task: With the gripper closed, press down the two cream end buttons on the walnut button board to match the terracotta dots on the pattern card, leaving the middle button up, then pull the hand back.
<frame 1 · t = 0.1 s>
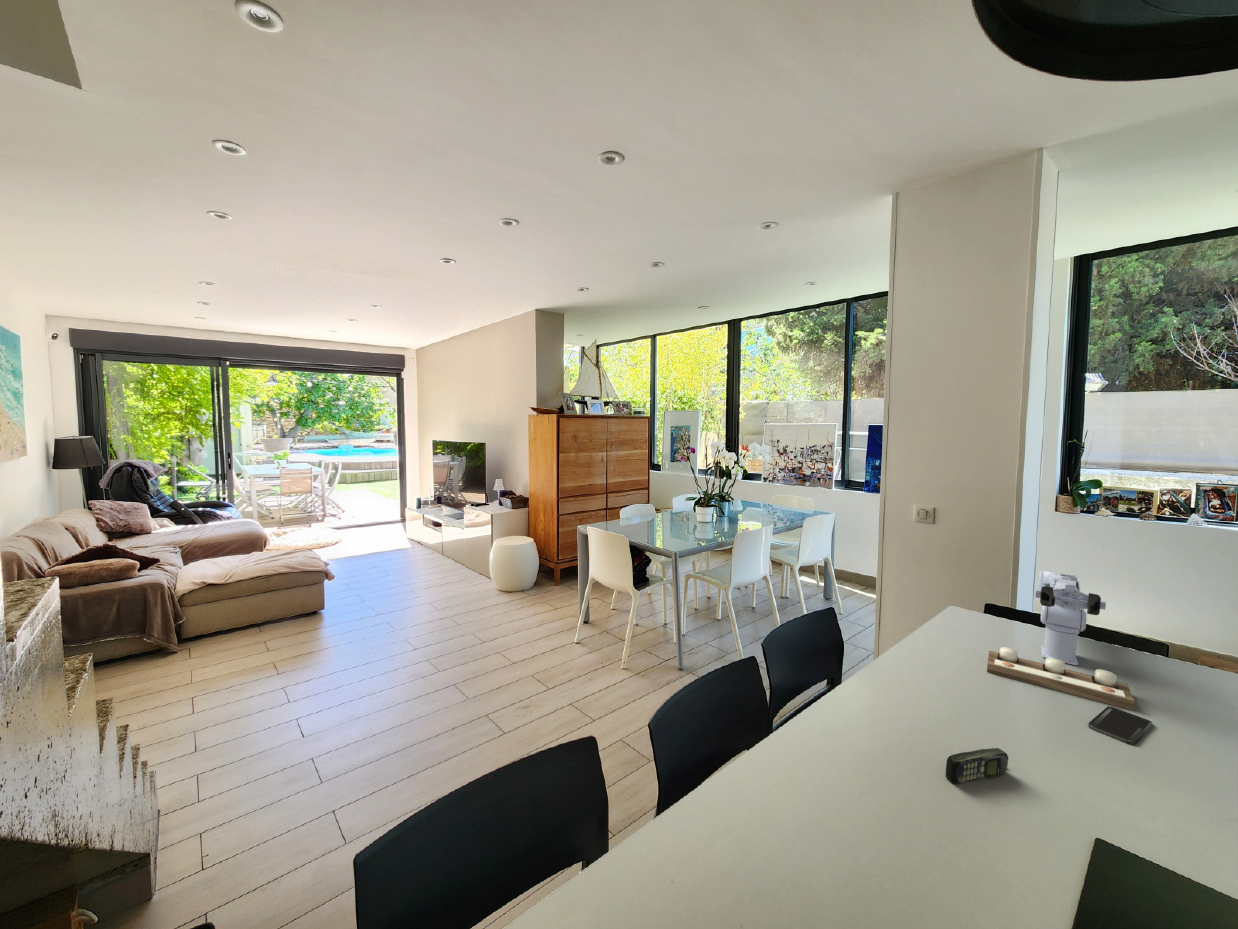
hand: (1072, 605, 133), 22 cm above the table, tool horizontal, fingers open, 7 cm apart
phone: (1120, 728, 117), on the table
mobile phone: (978, 776, 100), on the table
button board: (1053, 682, 136), on the table
middle button: (1054, 665, 137), point 4 cm above the table, slide at 0.0 cm
pattern card: (1055, 677, 134), resting on button board
end button 1: (1105, 677, 131), point 4 cm above the table, slide at 0.0 cm
end button 2: (1008, 654, 143), point 4 cm above the table, slide at 0.0 cm
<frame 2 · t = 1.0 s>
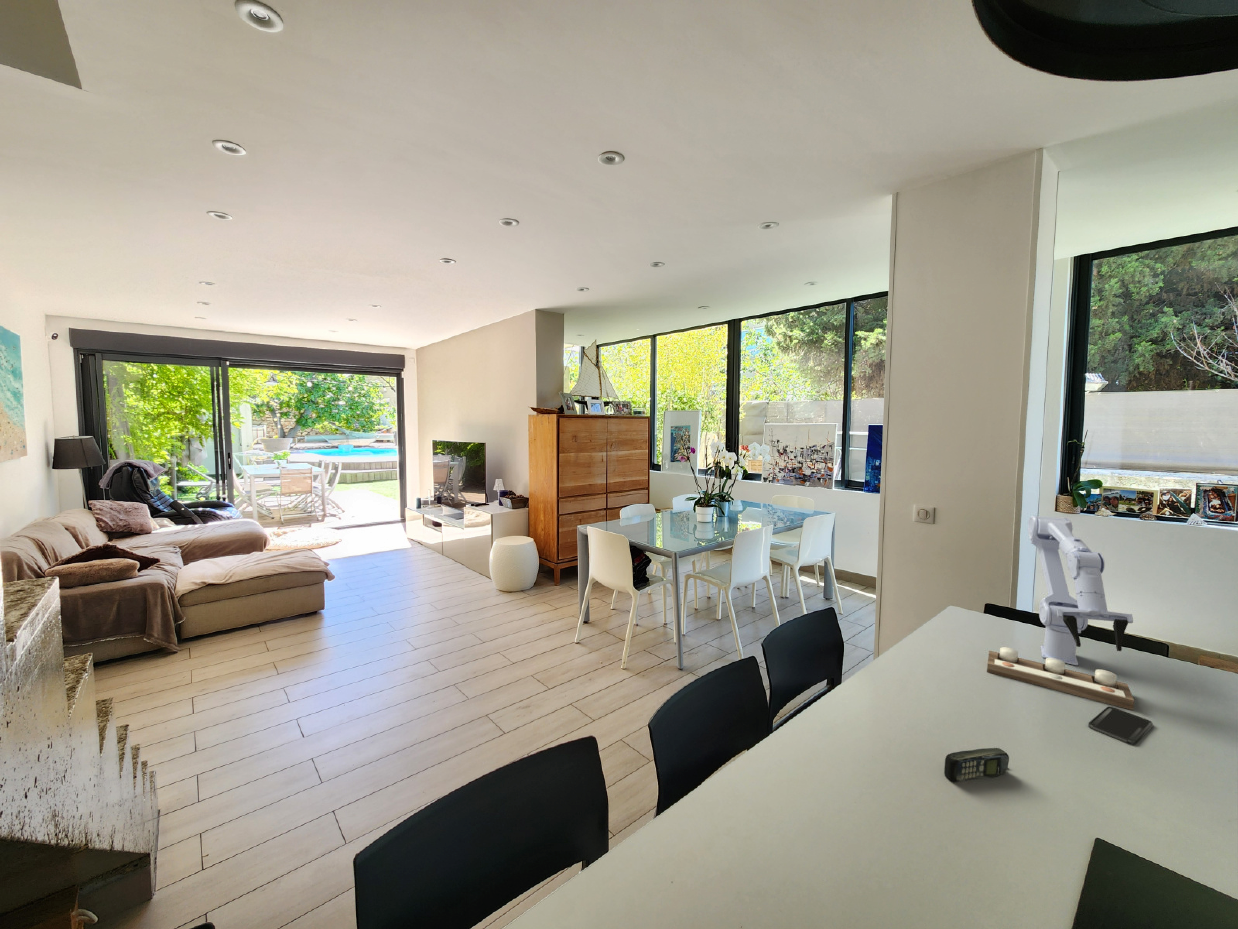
hand: (1098, 648, 130), 12 cm above the table, tool tilted 30°, fingers open, 7 cm apart
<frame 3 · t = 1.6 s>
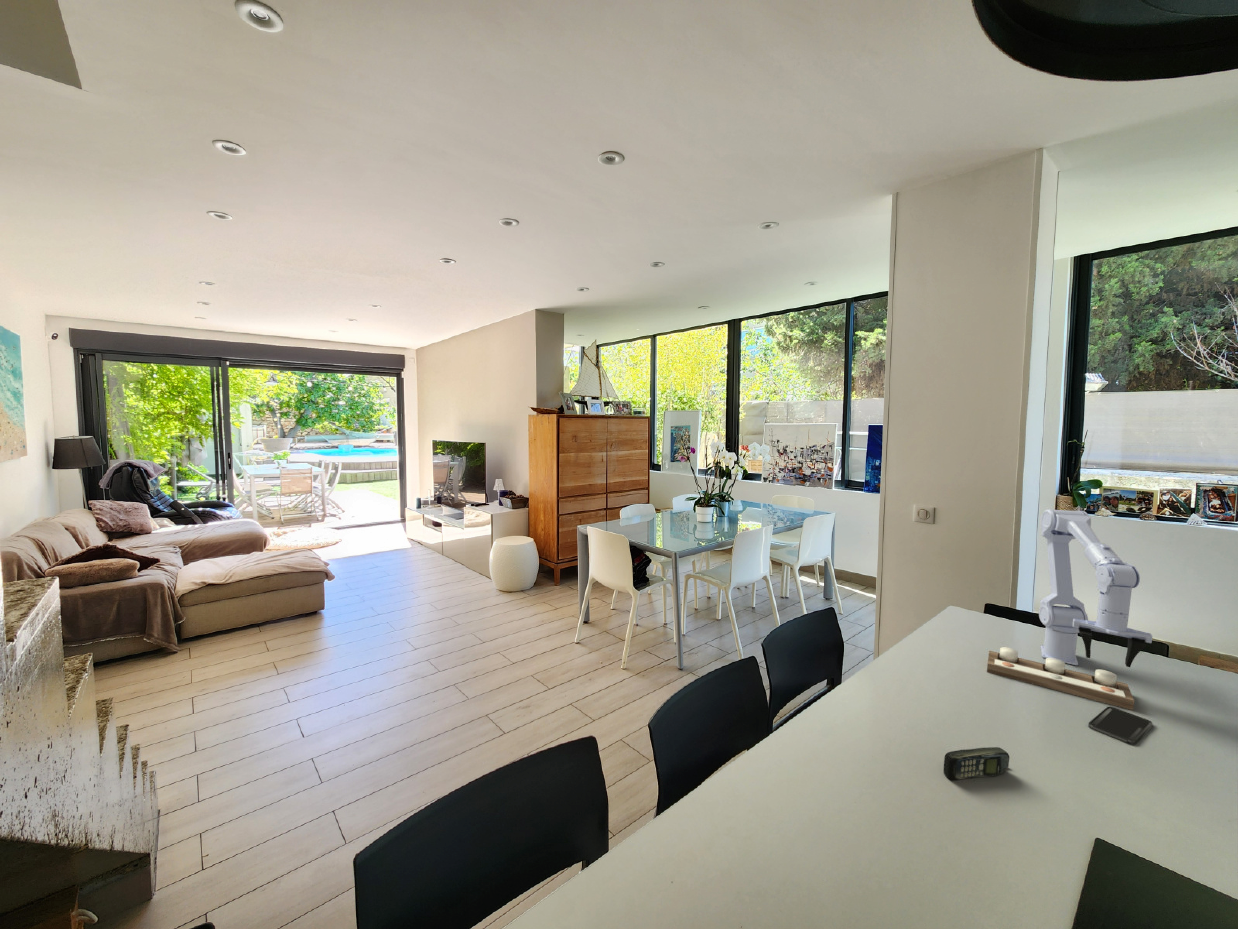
hand: (1107, 661, 131), 8 cm above the table, tool pointing down, fingers open, 7 cm apart
nothing on the table moved.
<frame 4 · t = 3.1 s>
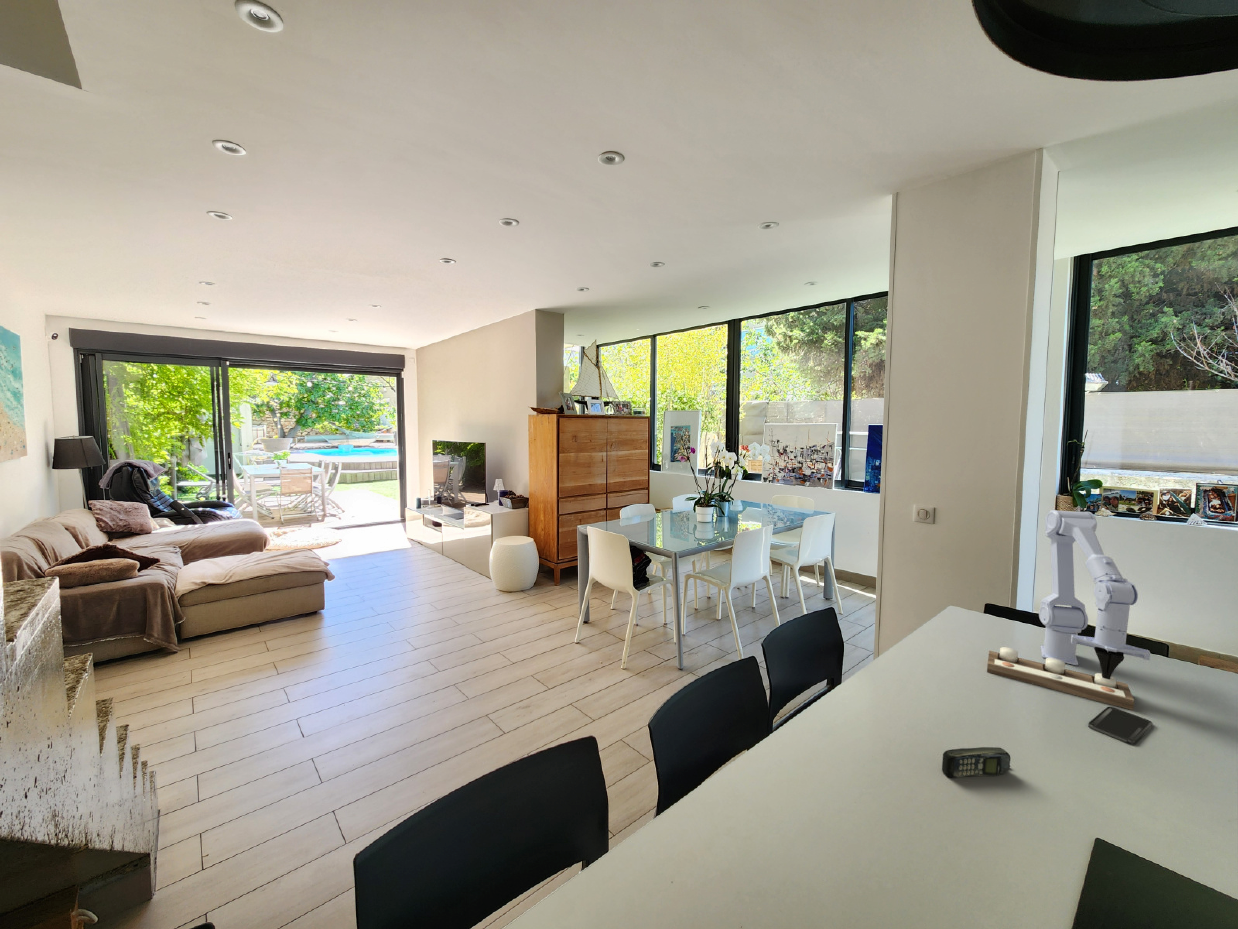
hand: (1105, 677, 131), 4 cm above the table, tool pointing down, fingers closed, pressing on end button 1
end button 1: (1105, 681, 131), point 3 cm above the table, slide at 1.1 cm, touching gripper
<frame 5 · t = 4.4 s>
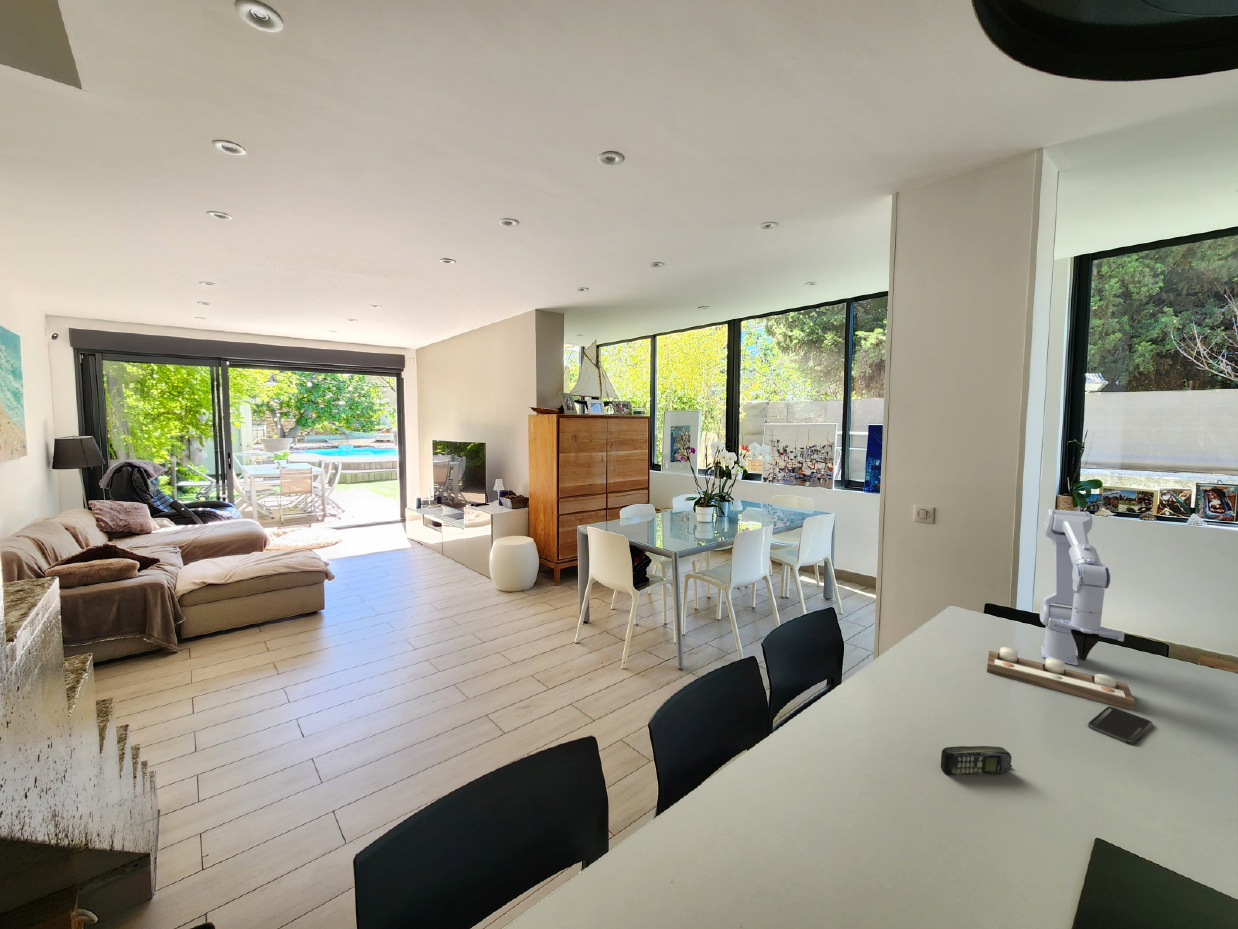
hand: (1081, 659, 134), 7 cm above the table, tool pointing down, fingers closed
end button 1: (1104, 682, 131), point 3 cm above the table, slide at 1.3 cm
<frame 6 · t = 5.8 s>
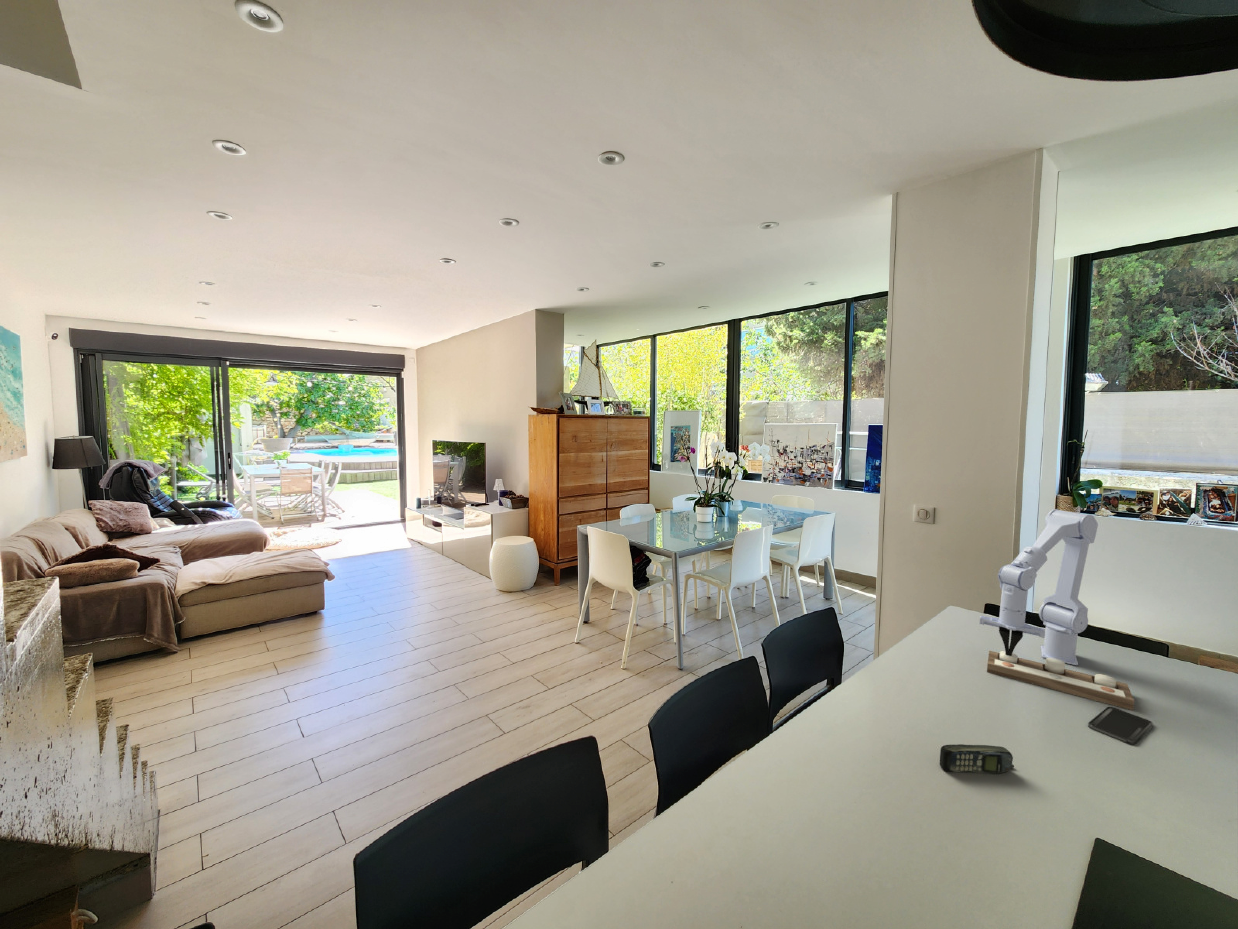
hand: (1008, 654, 143), 4 cm above the table, tool pointing down, fingers closed, pressing on end button 2
end button 2: (1008, 658, 144), point 3 cm above the table, slide at 1.1 cm, touching gripper
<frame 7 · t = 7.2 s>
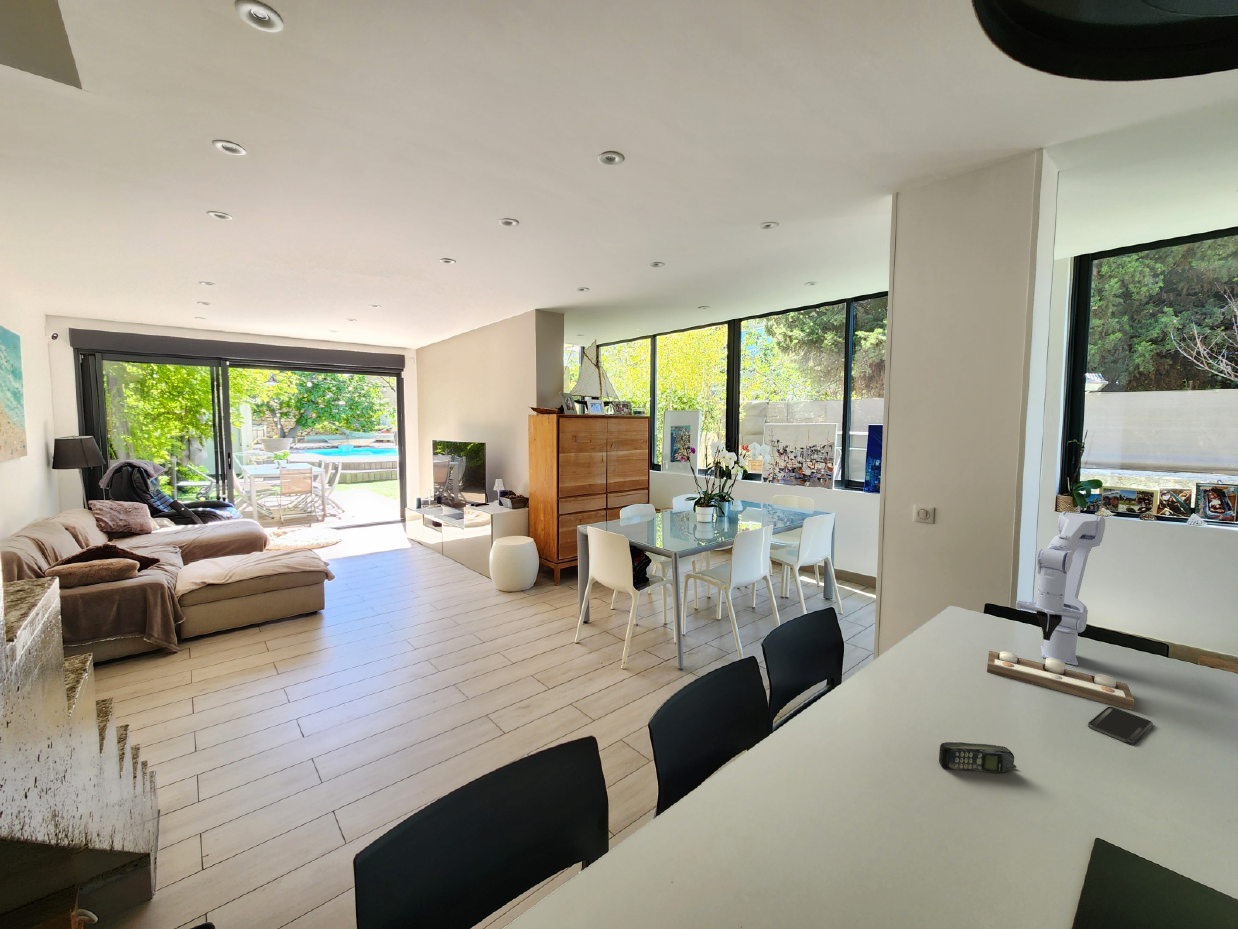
hand: (1046, 639, 141), 9 cm above the table, tool pointing down, fingers closed
end button 2: (1008, 659, 144), point 3 cm above the table, slide at 1.3 cm
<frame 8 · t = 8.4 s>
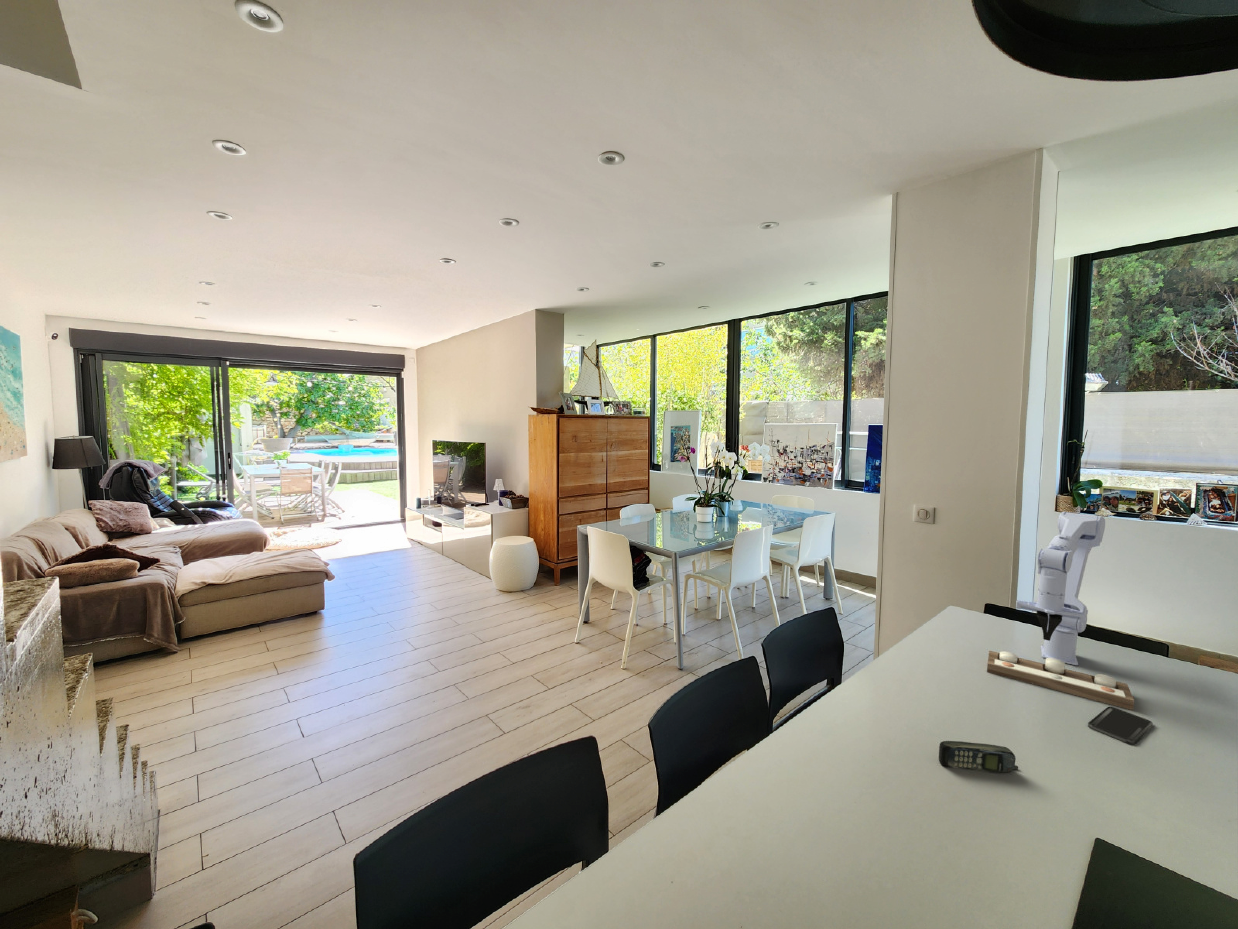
hand: (1046, 639, 141), 9 cm above the table, tool pointing down, fingers closed
at the end: end button 1 slide at 1.3 cm; end button 2 slide at 1.3 cm; middle button slide at 0.0 cm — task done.
